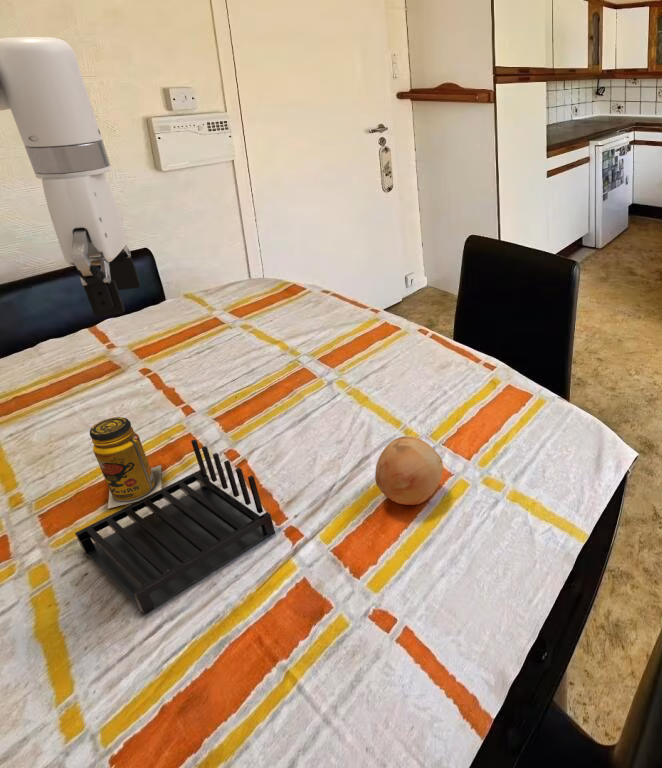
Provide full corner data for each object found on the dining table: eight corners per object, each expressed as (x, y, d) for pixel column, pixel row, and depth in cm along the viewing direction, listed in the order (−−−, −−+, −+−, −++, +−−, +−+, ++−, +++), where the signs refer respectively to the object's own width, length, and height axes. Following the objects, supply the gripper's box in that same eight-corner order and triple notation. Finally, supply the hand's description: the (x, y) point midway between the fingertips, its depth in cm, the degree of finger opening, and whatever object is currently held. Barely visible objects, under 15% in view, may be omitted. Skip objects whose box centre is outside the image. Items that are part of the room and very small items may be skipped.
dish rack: (144, 615, 75) (119, 557, 71) (83, 551, 85) (57, 497, 80) (275, 532, 87) (261, 478, 83) (208, 485, 97) (192, 435, 93)
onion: (456, 504, 92) (451, 447, 87) (392, 527, 88) (383, 469, 83) (430, 470, 99) (425, 417, 95) (370, 490, 95) (361, 436, 90)
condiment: (107, 509, 93) (79, 442, 87) (111, 479, 99) (85, 415, 94) (162, 495, 95) (138, 429, 90) (161, 466, 102) (139, 403, 96)
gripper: (56, 152, 78) (103, 283, 86) (3, 175, 63) (66, 330, 71) (123, 148, 80) (162, 276, 88) (86, 169, 65) (138, 321, 73)
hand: (119, 300), depth 80 cm, fingers open, 9 cm apart
